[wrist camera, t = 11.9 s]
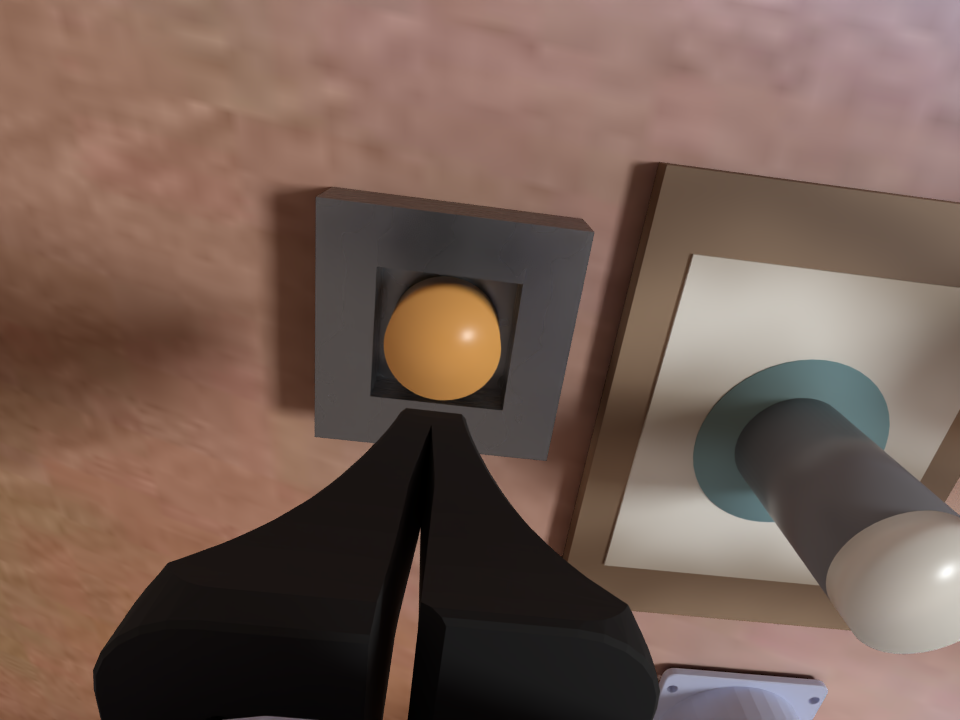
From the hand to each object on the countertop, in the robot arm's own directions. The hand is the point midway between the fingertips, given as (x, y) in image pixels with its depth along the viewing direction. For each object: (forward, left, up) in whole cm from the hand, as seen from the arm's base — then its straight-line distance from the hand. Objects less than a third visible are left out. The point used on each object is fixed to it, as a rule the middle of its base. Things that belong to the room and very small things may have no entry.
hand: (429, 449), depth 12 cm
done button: (0, 0, -7) cm, 7 cm away
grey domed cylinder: (-3, -13, -7) cm, 15 cm away
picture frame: (-3, -13, -8) cm, 15 cm away
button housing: (0, 0, -8) cm, 8 cm away
